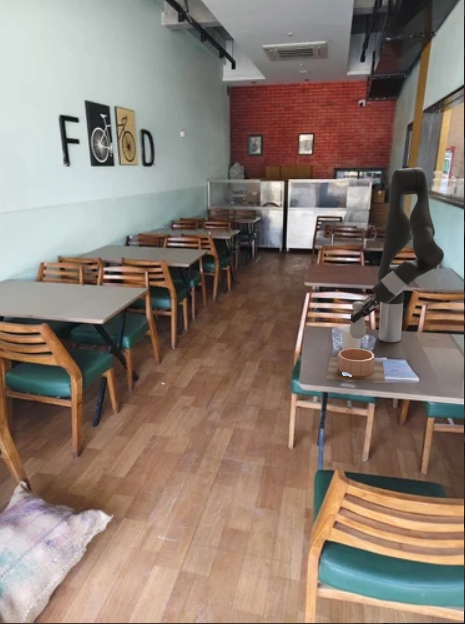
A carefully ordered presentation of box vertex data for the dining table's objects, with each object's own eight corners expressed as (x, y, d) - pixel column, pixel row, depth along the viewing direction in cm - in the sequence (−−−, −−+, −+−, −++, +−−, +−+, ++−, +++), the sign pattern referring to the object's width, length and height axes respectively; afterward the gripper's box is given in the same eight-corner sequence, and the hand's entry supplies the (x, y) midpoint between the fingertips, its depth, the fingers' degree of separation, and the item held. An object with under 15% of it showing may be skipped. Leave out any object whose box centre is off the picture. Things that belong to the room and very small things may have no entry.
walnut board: (329, 359, 171) (330, 357, 171) (382, 362, 165) (382, 361, 165) (326, 380, 153) (326, 378, 152) (385, 385, 147) (385, 383, 147)
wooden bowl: (339, 361, 166) (339, 347, 165) (373, 364, 163) (373, 349, 161) (337, 375, 155) (337, 359, 153) (373, 378, 151) (374, 362, 150)
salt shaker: (366, 339, 152) (367, 304, 148) (349, 339, 153) (350, 304, 149) (365, 334, 157) (366, 300, 154) (348, 334, 158) (349, 300, 155)
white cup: (342, 355, 175) (343, 332, 172) (340, 348, 182) (340, 326, 180) (362, 355, 174) (363, 332, 171) (359, 348, 181) (360, 325, 178)
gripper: (381, 275, 154) (345, 307, 160) (382, 283, 141) (343, 318, 148) (396, 289, 154) (359, 321, 160) (399, 299, 141) (359, 333, 148)
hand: (352, 319), depth 154 cm, fingers closed on salt shaker, 3 cm apart
